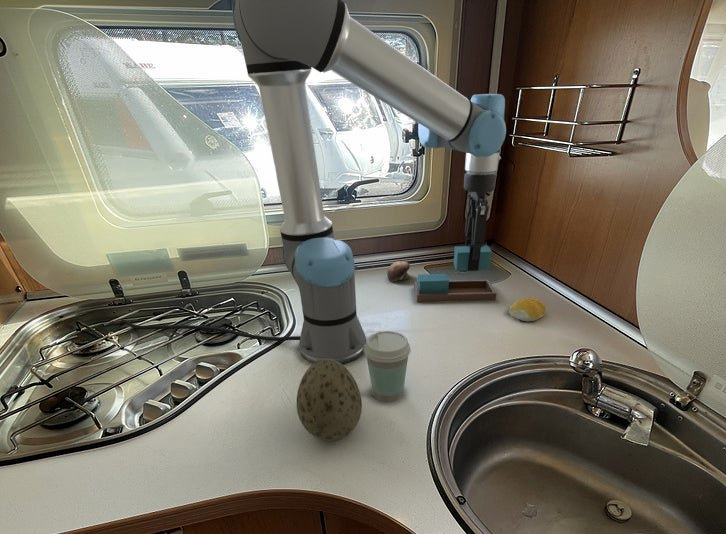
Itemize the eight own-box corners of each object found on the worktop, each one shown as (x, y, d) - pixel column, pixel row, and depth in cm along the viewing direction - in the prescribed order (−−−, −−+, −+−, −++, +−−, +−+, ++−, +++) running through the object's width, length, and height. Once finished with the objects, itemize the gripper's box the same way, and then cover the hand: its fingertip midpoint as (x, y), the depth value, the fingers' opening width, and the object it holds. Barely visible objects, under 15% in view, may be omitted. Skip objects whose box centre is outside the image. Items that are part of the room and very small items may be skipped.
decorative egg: (369, 416, 77) (366, 346, 69) (355, 459, 69) (349, 385, 60) (313, 410, 79) (303, 341, 70) (292, 451, 71) (278, 378, 62)
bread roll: (549, 313, 110) (552, 299, 107) (532, 325, 105) (535, 310, 102) (520, 304, 114) (523, 290, 112) (503, 315, 109) (505, 301, 107)
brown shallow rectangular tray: (416, 303, 116) (417, 295, 114) (413, 289, 123) (414, 281, 122) (495, 301, 116) (496, 293, 114) (487, 287, 124) (488, 279, 122)
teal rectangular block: (456, 271, 113) (457, 252, 110) (453, 264, 117) (454, 246, 114) (489, 270, 113) (492, 251, 110) (485, 263, 117) (488, 245, 114)
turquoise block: (418, 298, 117) (419, 281, 114) (417, 291, 121) (417, 274, 118) (447, 297, 117) (449, 280, 114) (445, 290, 121) (446, 273, 118)
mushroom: (420, 268, 128) (408, 252, 125) (408, 286, 124) (395, 270, 121) (403, 274, 134) (391, 259, 131) (391, 292, 131) (378, 276, 128)
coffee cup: (380, 376, 88) (379, 325, 81) (417, 388, 84) (419, 336, 77) (357, 398, 82) (354, 345, 75) (395, 412, 78) (396, 358, 71)
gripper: (505, 179, 94) (492, 278, 107) (487, 165, 108) (477, 254, 122) (472, 180, 94) (462, 279, 107) (458, 166, 108) (452, 255, 122)
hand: (470, 266), depth 115 cm, fingers closed on teal rectangular block, 5 cm apart
